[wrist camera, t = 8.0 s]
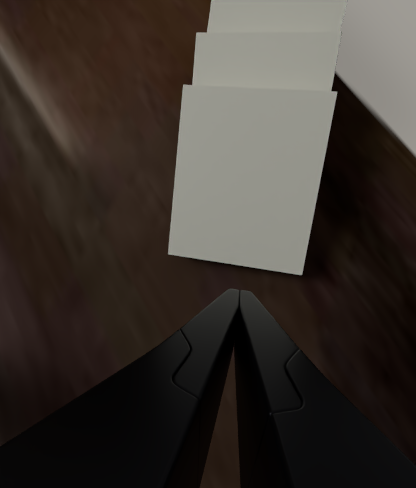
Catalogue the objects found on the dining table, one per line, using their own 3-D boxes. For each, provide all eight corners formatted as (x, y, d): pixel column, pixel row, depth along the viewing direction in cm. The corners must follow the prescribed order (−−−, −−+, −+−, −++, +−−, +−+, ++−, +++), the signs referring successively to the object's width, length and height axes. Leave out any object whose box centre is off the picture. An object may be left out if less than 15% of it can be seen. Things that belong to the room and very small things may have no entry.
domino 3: (309, 153, 20) (353, -25, 17) (192, 137, 21) (215, -29, 19) (305, 157, 22) (344, -3, 19) (197, 142, 23) (219, -8, 20)
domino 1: (301, 275, 17) (337, 91, 15) (168, 254, 19) (183, 84, 17) (296, 268, 19) (327, 104, 17) (176, 249, 21) (190, 97, 19)
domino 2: (309, 211, 18) (341, 31, 16) (183, 198, 20) (196, 32, 18) (304, 210, 20) (332, 49, 18) (189, 198, 22) (201, 49, 20)
